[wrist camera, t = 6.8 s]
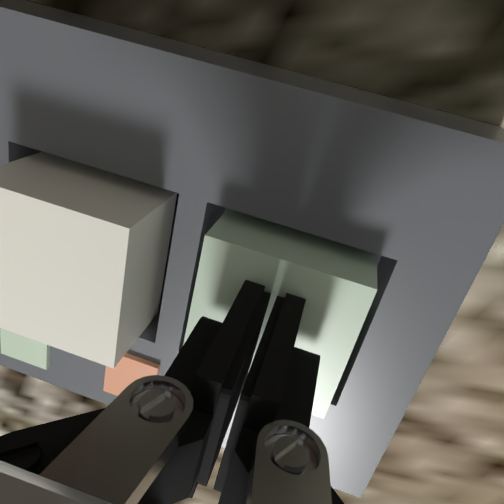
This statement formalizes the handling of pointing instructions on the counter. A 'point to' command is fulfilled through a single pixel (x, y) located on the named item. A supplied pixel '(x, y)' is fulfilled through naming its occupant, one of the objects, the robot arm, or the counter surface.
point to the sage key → (289, 287)
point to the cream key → (80, 255)
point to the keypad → (260, 195)
